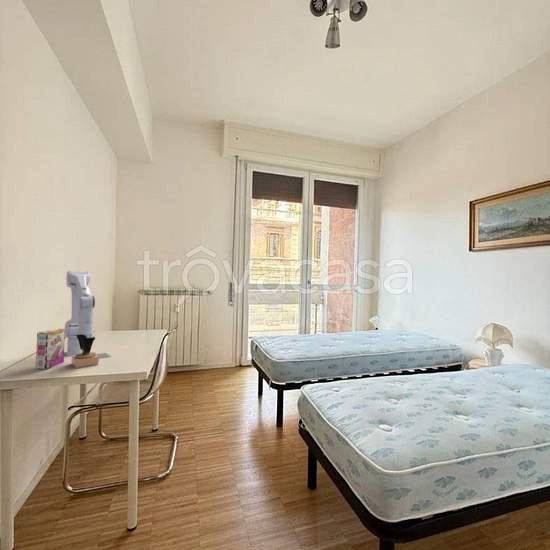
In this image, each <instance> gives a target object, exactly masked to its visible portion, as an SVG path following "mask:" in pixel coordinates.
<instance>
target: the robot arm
mask: <svg viewBox="0 0 550 550" xmlns="http://www.w3.org/2000/svg"><path fill="white" fill-rule="evenodd" d="M65 280H66V287H68V288H70V291H71V318H70V319H69V320H67V321H66V322H65V324H64V329H65V338H67V341H66V342H67V344H66V345H67V346H66V351H64V354H66V355H67V357H72V356H76V354H79V353H82V347H83V348H84V353H89V352H92V351H91V350H92V347H93V343H94V341H95V340H96V337H95V336H93V333H96V332H97V331H96V330H95V329H94V308H95V306H96V298H95V296H94V295H92V292H91V289H90V287H88V285H89V284H90V280H91V272H89V271H88V270H87V271H80V270H79V271H77V270H75V271H74V270H67V272H66V279H65Z"/></svg>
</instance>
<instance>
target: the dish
mask: <svg viewBox="0 0 550 550" xmlns="http://www.w3.org/2000/svg"><path fill="white" fill-rule="evenodd" d="M99 360H100V359H99V357H98V356H97V355H96V356H94V357H91V358H86V359H77V358H76V355H73V356H71V365H72V367H74V368H75V369H80V368H86V367H92V366H97V365H98V366H99Z"/></svg>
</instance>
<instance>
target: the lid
mask: <svg viewBox="0 0 550 550" xmlns="http://www.w3.org/2000/svg"><path fill="white" fill-rule="evenodd" d="M75 356H76V358H77V359H86V358H91V357H94V356H96V352H94V351H90V352H89V353H84V348H83V347H82V353H79V354H76V355H75Z"/></svg>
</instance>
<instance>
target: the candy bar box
mask: <svg viewBox="0 0 550 550" xmlns="http://www.w3.org/2000/svg"><path fill="white" fill-rule="evenodd" d="M65 338H66V337H65V328H53V329H48V330H43V331H39V332H37V336H36V356H35V370H38V369H46V370H48V368H49V369H51V368H52V367H55V366H58V365H61V364H64V363H65V362H64V361H65V344H66V343H65V340H66V339H65Z"/></svg>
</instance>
